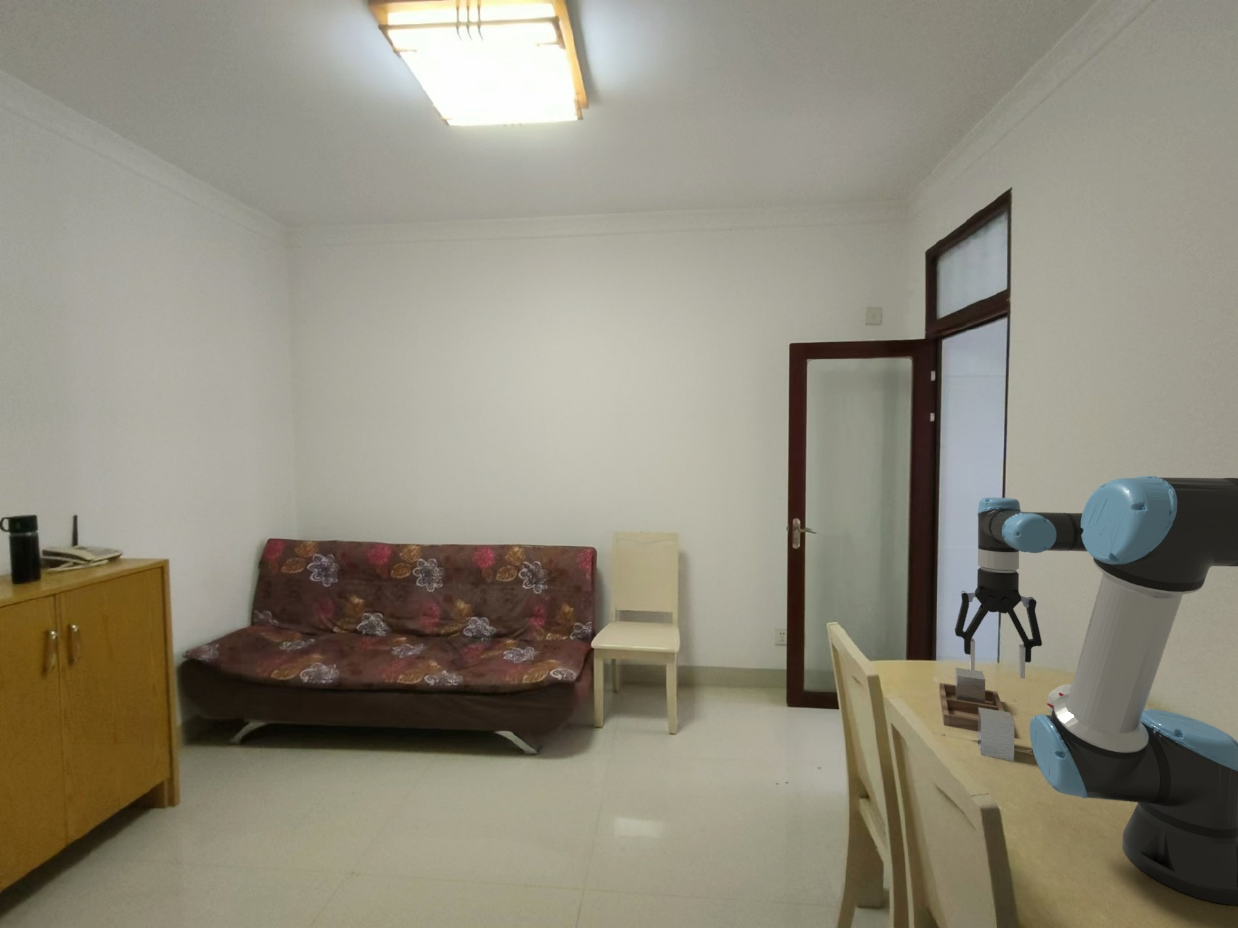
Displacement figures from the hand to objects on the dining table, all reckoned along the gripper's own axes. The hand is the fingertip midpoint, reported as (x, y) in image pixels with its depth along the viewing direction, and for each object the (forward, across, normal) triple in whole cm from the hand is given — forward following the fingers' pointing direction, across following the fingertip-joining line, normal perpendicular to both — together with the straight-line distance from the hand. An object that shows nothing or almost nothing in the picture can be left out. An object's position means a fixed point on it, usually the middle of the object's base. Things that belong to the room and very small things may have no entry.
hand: (996, 672), depth 127 cm
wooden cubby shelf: (+17, +3, -17) cm, 24 cm away
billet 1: (+16, +3, -22) cm, 28 cm away
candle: (+18, -19, -23) cm, 35 cm away
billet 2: (+17, 0, 0) cm, 17 cm away
